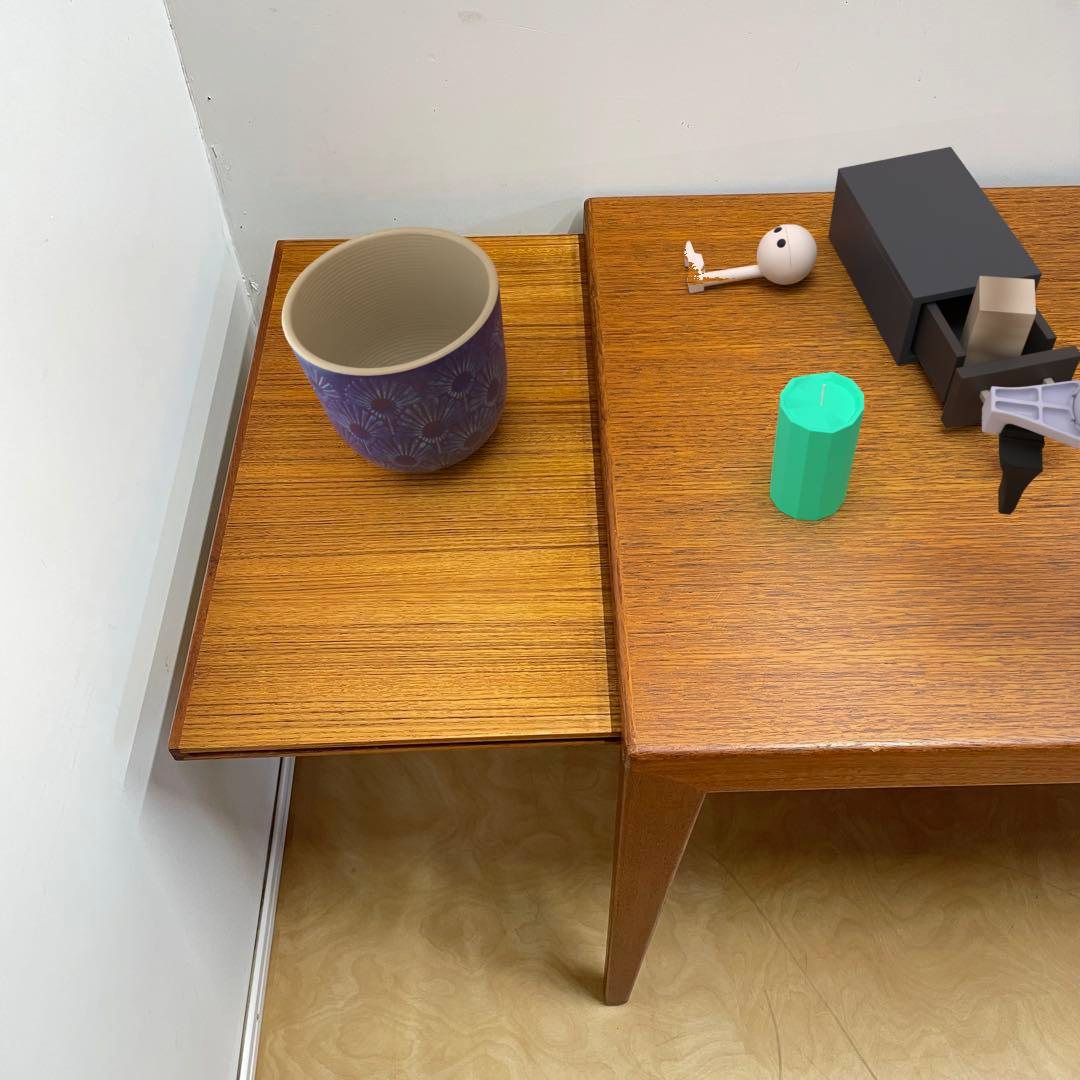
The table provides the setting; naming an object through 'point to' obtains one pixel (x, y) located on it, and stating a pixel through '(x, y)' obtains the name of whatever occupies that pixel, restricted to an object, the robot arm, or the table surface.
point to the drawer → (973, 383)
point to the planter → (403, 345)
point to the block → (998, 319)
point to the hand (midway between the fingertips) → (1067, 511)
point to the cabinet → (918, 239)
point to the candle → (815, 444)
